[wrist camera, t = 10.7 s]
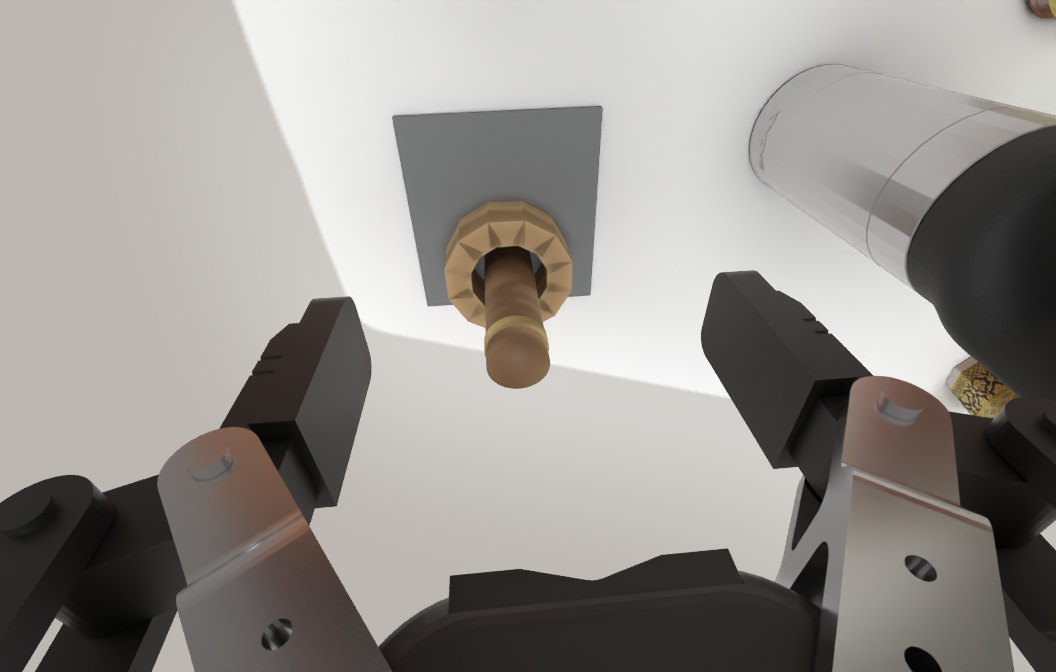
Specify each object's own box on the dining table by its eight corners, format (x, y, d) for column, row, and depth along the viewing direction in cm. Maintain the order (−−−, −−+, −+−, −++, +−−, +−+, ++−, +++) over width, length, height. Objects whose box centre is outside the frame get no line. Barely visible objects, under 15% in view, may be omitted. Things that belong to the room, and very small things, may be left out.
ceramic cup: (917, 406, 58) (986, 473, 50) (952, 344, 52) (1037, 409, 44) (1021, 390, 58) (1107, 455, 50) (1068, 327, 52) (1174, 389, 44)
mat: (601, 106, 34) (602, 107, 34) (589, 292, 44) (590, 295, 44) (393, 115, 33) (392, 117, 33) (428, 303, 43) (427, 306, 43)
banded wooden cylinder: (531, 233, 39) (552, 337, 28) (531, 276, 42) (551, 387, 31) (481, 236, 39) (482, 342, 28) (484, 279, 42) (487, 391, 31)
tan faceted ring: (565, 197, 38) (574, 217, 34) (563, 301, 44) (570, 326, 41) (440, 204, 37) (437, 225, 34) (455, 309, 43) (454, 335, 40)
